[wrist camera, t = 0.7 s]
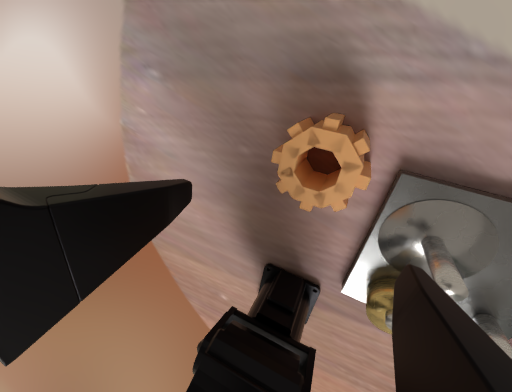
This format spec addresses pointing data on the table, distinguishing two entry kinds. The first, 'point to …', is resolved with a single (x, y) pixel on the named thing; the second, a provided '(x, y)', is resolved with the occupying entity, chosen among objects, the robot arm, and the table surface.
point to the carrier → (440, 251)
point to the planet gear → (315, 183)
